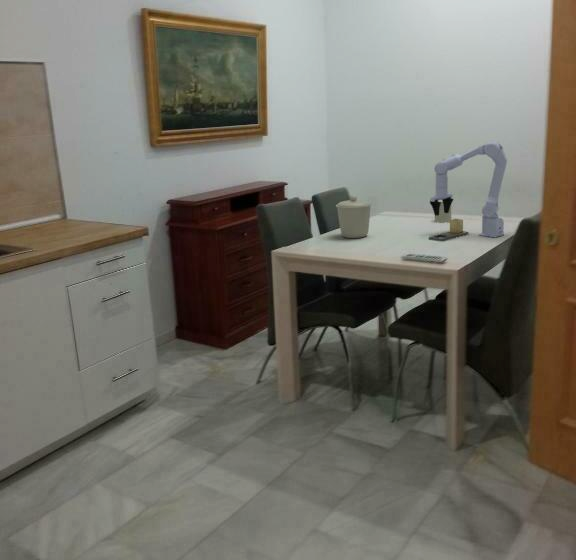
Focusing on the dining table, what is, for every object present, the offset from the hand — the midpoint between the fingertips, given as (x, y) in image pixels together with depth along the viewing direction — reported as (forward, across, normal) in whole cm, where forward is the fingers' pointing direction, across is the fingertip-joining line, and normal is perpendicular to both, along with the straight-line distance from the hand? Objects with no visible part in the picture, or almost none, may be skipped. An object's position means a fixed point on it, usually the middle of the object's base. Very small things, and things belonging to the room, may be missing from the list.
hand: (441, 214), depth 314 cm
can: (+10, -28, -21) cm, 36 cm away
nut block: (+10, -2, +7) cm, 13 cm away
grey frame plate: (+10, +4, +8) cm, 13 cm away
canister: (+10, +29, -32) cm, 44 cm away
